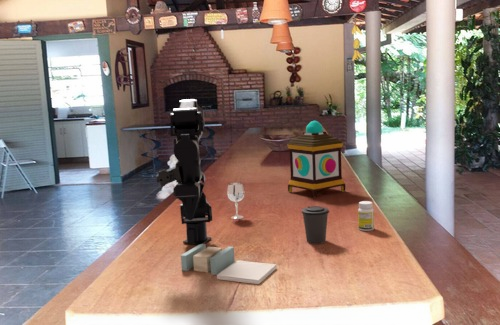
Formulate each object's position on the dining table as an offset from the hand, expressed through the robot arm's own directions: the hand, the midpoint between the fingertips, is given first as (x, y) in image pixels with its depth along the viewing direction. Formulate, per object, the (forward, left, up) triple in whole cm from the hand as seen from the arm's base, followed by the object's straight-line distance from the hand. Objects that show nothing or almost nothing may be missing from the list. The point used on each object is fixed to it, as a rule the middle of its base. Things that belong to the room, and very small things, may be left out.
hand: (192, 215), depth 138 cm
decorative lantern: (-92, +4, -13) cm, 93 cm away
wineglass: (-45, -10, -13) cm, 48 cm away
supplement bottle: (-42, +36, -13) cm, 57 cm away
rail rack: (+2, +5, -13) cm, 14 cm away
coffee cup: (-26, +25, -13) cm, 38 cm away
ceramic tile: (+4, +17, -13) cm, 22 cm away
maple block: (+2, +5, -13) cm, 14 cm away
